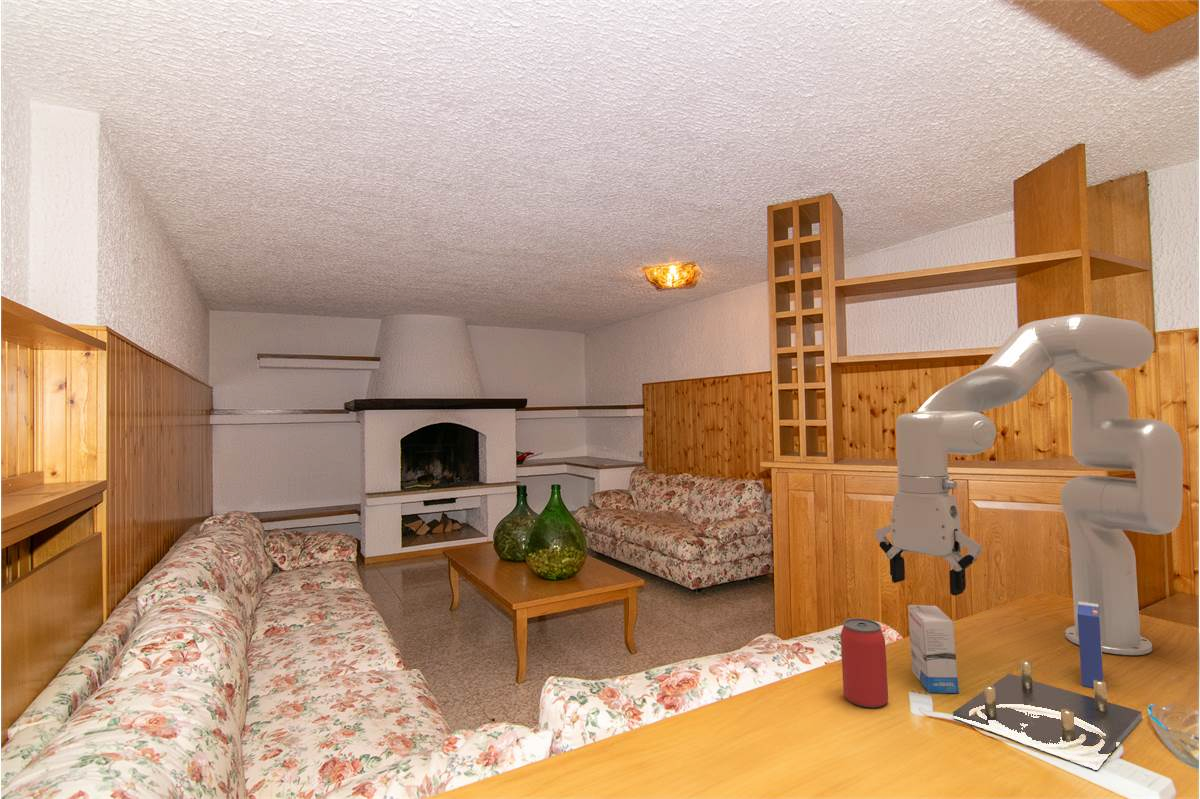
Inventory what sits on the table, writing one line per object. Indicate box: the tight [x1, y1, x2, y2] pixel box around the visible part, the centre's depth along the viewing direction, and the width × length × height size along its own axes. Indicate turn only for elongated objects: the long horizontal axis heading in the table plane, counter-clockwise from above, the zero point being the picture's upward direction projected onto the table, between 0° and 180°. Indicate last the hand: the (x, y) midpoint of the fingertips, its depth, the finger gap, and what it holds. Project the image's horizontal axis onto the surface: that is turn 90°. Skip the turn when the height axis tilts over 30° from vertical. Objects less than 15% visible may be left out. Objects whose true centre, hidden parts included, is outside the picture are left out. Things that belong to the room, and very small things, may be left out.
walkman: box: [1078, 601, 1104, 689], centre depth 100 cm, size 8×3×12 cm, turn 141°
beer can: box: [840, 617, 889, 708], centre depth 96 cm, size 7×7×12 cm
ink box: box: [907, 604, 960, 694], centre depth 101 cm, size 9×5×12 cm, turn 168°
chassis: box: [952, 659, 1143, 754], centre depth 88 cm, size 20×17×5 cm
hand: (926, 587), depth 102 cm, fingers open, 9 cm apart
